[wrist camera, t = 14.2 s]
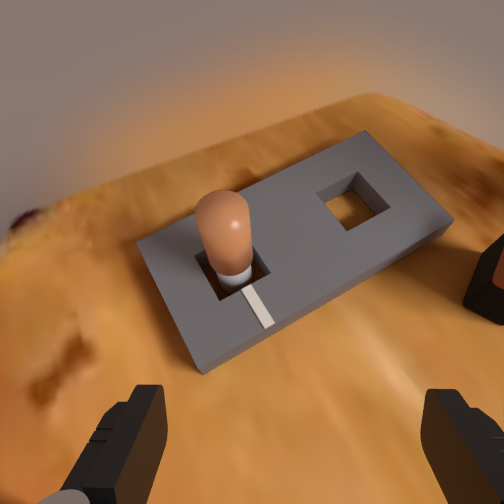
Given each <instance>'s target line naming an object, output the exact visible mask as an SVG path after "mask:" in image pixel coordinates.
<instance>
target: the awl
mask: <svg viewBox="0 0 504 504" xmlns="http://www.w3.org/2000/svg"><path fill="white" fill-rule="evenodd" d="M195 221H196V224H197V227H198V230H199V233H200V236H201V239H202V242H203V245H204V248H205V251H206V254H207V257H208V260H209V263H210V265H211V267H212V268H213V269H214V270H215V271H216V274H217V277H218V280H219V283H220V285H221V287H222V288H223V289H224V290H225V291H227V292H229V293H236V292H238V291H240V290H241V289H243V288H244V287H246V286H248V285H250V284H251V282H252V269H251V263H252V260H253V247H252V236H251V226H250V215H249V207H248V204H247V202H246V200H245V199H244V198H243V197H242V196H241V195H239V194H238V193H236V192H233V191H229V190H218V191H214V192H211V193H209V194H207V195H206V196H204V197H203V198H202V199H201V200H200V201H199V202H198V204H197V206H196V209H195Z"/></svg>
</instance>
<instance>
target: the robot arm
mask: <svg viewBox="0 0 504 504" xmlns="http://www.w3.org/2000/svg"><path fill="white" fill-rule="evenodd" d="M167 432H168V424H167V415H166V406H165V397H164V389H163V386H162V385H137V386H136V387H135V388H134V390H133V392H132V394H131V396H130V398H129V400H128V402H117V403H116V404H115V405H114V406H113V407H112V408H111V409H109V410H108V411H107V412H106V413H105V414H104V415H103V417H102V419H101V421H100V422H99V424H98V426H97V427H96V431H94V433H93V434H92V436H91V438H90V439H89V443H87V445H86V446H85V448H84V450H83V451H82V453H81V455H80V457H79V458H78V460H77V462H76V463H75V465H74V467H73V469H72V470H71V472H70V474H69V475H68V477H67V479H66V481H65V482H64V484H63V486H62V487H61V489H60V491H59V492H56V493H53V494H51V495H49V496H48V497H46V498H44V499H43V500H41V501H40V502H39V503H38V504H146V503H147V500H148V497H149V494H150V491H151V488H152V485H153V482H154V479H155V476H156V473H157V470H158V467H159V464H160V461H161V458H162V455H163V452H164V449H165V445H166V441H167ZM420 435H421V443H422V447H423V451H424V453H425V456H426V458H427V460H428V462H429V464H430V466H431V468H432V470H433V472H434V475H435V477H436V479H437V481H438V483H439V485H440V487H441V489H442V491H443V494H444V496H445V498H446V500H447V502H448V504H504V432H503V431H502V429H501V428H500V427H499V425H498V424H497V423H496V422H495V421H494V420H493V419H492V418H490V417H489V416H488V415H486V414H485V413H484V412H482V411H481V410H480V409H478V408H470V407H469V406H468V404H467V403H466V401H465V400H464V399H463V397H462V396H461V394H460V393H459V392H458V391H457V390H455V389H428V390H427V392H426V395H425V402H424V409H423V416H422V423H421V431H420Z"/></svg>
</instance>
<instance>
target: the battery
mask: <svg viewBox="0 0 504 504" xmlns="http://www.w3.org/2000/svg"><path fill="white" fill-rule="evenodd" d="M463 305H464V306H465V307H467V308H469V309H471V310H473V311H475V312H477V313H479V314H481V315H483V316H485V317H487V318H489V319H491V320H493V321H495V322H497V323H499V324H501V325H503V326H504V234H503V235H502V236H500V237H499V238H498V239H497V240H496V241H495V242H494V243H493V244H492V245H491V246H490V247H488V248H487V249H486V250H485V251H484V252H483V253H482V255H481V257H480V260H479V262H478V265H477V267H476V270H475V272H474V275H473V277H472V280H471V282H470V285H469V287H468V290H467V292H466V295H465V297H464V300H463Z"/></svg>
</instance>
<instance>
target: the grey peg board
mask: <svg viewBox="0 0 504 504" xmlns="http://www.w3.org/2000/svg"><path fill="white" fill-rule="evenodd" d="M350 189H353V190H354V191H355V192H356V193H357V194H358V195H359V197H360V198H361V199H362V200H363V201H364V202H365V203H366V205H367V206H368V207H369V208H370V209H371V210H372V211H373V212H374V214H375V215H376V216H374V217H373V218H371V219H369V220H367V221H365V222H364V223H362V224H360V225H358V226H356V227H354V228H353V229H351V230H349V231H346V230H345V229H344V227H343V226H342V225H341V224H340V222H339V221H338V220H337V219H336V218H335V216H334V215H333V214H332V213H331V211H330V210H329V209H328V208H327V207H326V205H325V204H324V203H325V202H327V201H329V200H331V199H333V198H335V197H337V196H339V195H341V194H343V193H345V192H347V191H348V190H350ZM237 193H238V194H239V195H241V196H242V197H243V198H244V199H245V200H246V202H247V204H248V207H249V215H250V226H251V236H252V247H253V259H254V260H255V262H256V263H257V265H258V266H259V268H260V269H261V271H262V272H263V274H264V275H265V277H263V278H261V279H260V280H258V281H256V282H254V283H252V284H250V285H248V286H246V287H244V288H243V289H241V290H240V291H238V292H236V293H234V294H232V295H230V296H229V297H227V298H225V299H223V300H221V301H219V299H218V298H217V296H216V294H215V292H214V290H213V289H212V287H211V285H210V283H209V282H208V280H207V278H206V276H205V275H204V273H203V271H202V269H201V267H203V266H205V265H207V264H209V260H208V257H207V254H206V251H205V248H204V245H203V242H202V239H201V236H200V233H199V230H198V227H197V224H196V221H195V213H194V214H192V215H190V216H188V217H186V218H184V219H182V220H180V221H178V222H176V223H174V224H172V225H170V226H168V227H166V228H163V229H161V230H159V231H157V232H155V233H153V234H151V235H149V236H147V237H145V238H143V239H141V240H139V241H137V242H136V244H137V246H138V248H139V250H140V252H141V254H142V256H143V258H144V260H145V262H146V265H147V267H148V269H149V271H150V273H151V275H152V277H153V279H154V281H155V283H156V285H157V287H158V289H159V291H160V293H161V295H162V297H163V299H164V301H165V303H166V305H167V307H168V309H169V311H170V313H171V315H172V317H173V319H174V321H175V323H176V326H177V328H178V330H179V332H180V334H181V336H182V338H183V340H184V342H185V344H186V346H187V348H188V350H189V352H190V354H191V356H192V358H193V360H194V362H195V364H196V366H197V368H198V370H199V371H200V372H201V373H202V374H203V375H204V374H206V373H208V372H209V371H211V370H213V369H215V368H216V367H218V366H220V365H221V364H223V363H225V362H226V361H228V360H230V359H232V358H233V357H235V356H237V355H238V354H240V353H242V352H244V351H245V350H247V349H249V348H250V347H252V346H254V345H255V344H257V343H259V342H261V341H262V340H264V339H266V338H267V337H269V336H271V335H273V334H274V333H276V332H278V331H279V330H281V329H283V328H284V327H286V326H288V325H290V324H291V323H293V322H295V321H296V320H298V319H300V318H302V317H303V316H305V315H307V314H308V313H310V312H312V311H313V310H315V309H317V308H319V307H320V306H322V305H324V304H325V303H327V302H329V301H331V300H332V299H334V298H336V297H337V296H339V295H341V294H342V293H344V292H346V291H348V290H349V289H351V288H353V287H354V286H356V285H358V284H359V283H361V282H363V281H365V280H366V279H368V278H370V277H371V276H373V275H375V274H377V273H378V272H380V271H382V270H383V269H385V268H387V267H388V266H390V265H392V264H394V263H395V262H397V261H399V260H400V259H402V258H404V257H406V256H407V255H409V254H411V253H412V252H414V251H416V250H417V249H419V248H421V247H423V246H424V245H426V244H428V243H429V242H431V241H433V240H435V239H436V238H438V237H440V236H441V235H443V233H444V232H445V231H446V230H447V229H448V227H449V226H450V225H451V224H452V222H453V221H454V220H455V219H454V218H453V217H452V216H451V215H450V214H449V213H448V212H447V211H446V210H445V209H444V208H443V207H442V206H441V205H440V204H439V203H438V202H437V201H436V200H435V199H434V198H433V197H432V196H431V195H430V194H429V193H428V192H427V191H426V190H425V189H424V188H423V187H422V186H421V185H420V184H419V183H418V182H417V181H416V180H415V179H414V178H413V177H412V176H411V175H410V174H409V173H408V172H407V171H406V170H405V169H404V168H403V167H402V166H401V165H400V164H399V163H398V162H397V161H396V160H395V159H394V158H393V157H392V156H391V155H390V154H389V153H388V152H387V151H386V150H385V149H384V148H383V147H382V146H381V145H380V144H379V143H378V142H377V141H376V140H375V139H374V138H373V137H372V136H371V135H370V134H369V133H368V132H367V131H366V130H364V131H362V132H360V133H358V134H356V135H354V136H352V137H350V138H348V139H346V140H344V141H341V142H339V143H337V144H335V145H333V146H331V147H329V148H327V149H325V150H323V151H321V152H319V153H317V154H315V155H313V156H311V157H309V158H307V159H305V160H303V161H301V162H299V163H296V164H294V165H292V166H290V167H288V168H286V169H284V170H282V171H280V172H278V173H276V174H274V175H272V176H270V177H268V178H266V179H264V180H262V181H260V182H258V183H256V184H254V185H251V186H249V187H247V188H245V189H243V190H241V191H239V192H237Z"/></svg>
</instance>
